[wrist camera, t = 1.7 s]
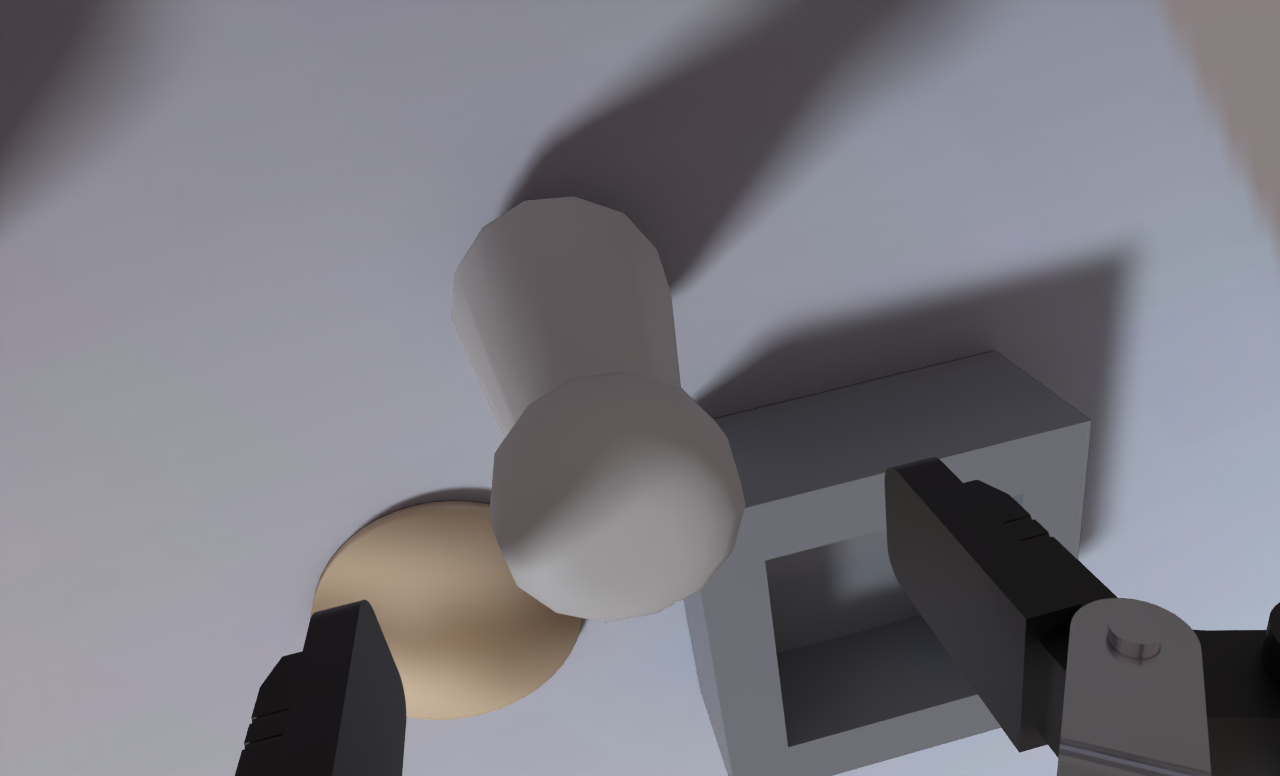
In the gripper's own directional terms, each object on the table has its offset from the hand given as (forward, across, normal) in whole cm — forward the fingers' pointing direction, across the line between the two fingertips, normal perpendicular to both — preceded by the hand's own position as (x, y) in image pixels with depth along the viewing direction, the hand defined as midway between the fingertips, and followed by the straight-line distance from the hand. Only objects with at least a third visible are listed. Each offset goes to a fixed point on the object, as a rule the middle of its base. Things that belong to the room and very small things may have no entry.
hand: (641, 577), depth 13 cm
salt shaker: (+14, 0, 0) cm, 14 cm away
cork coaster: (+14, +6, +11) cm, 18 cm away
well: (+14, -8, +12) cm, 20 cm away
